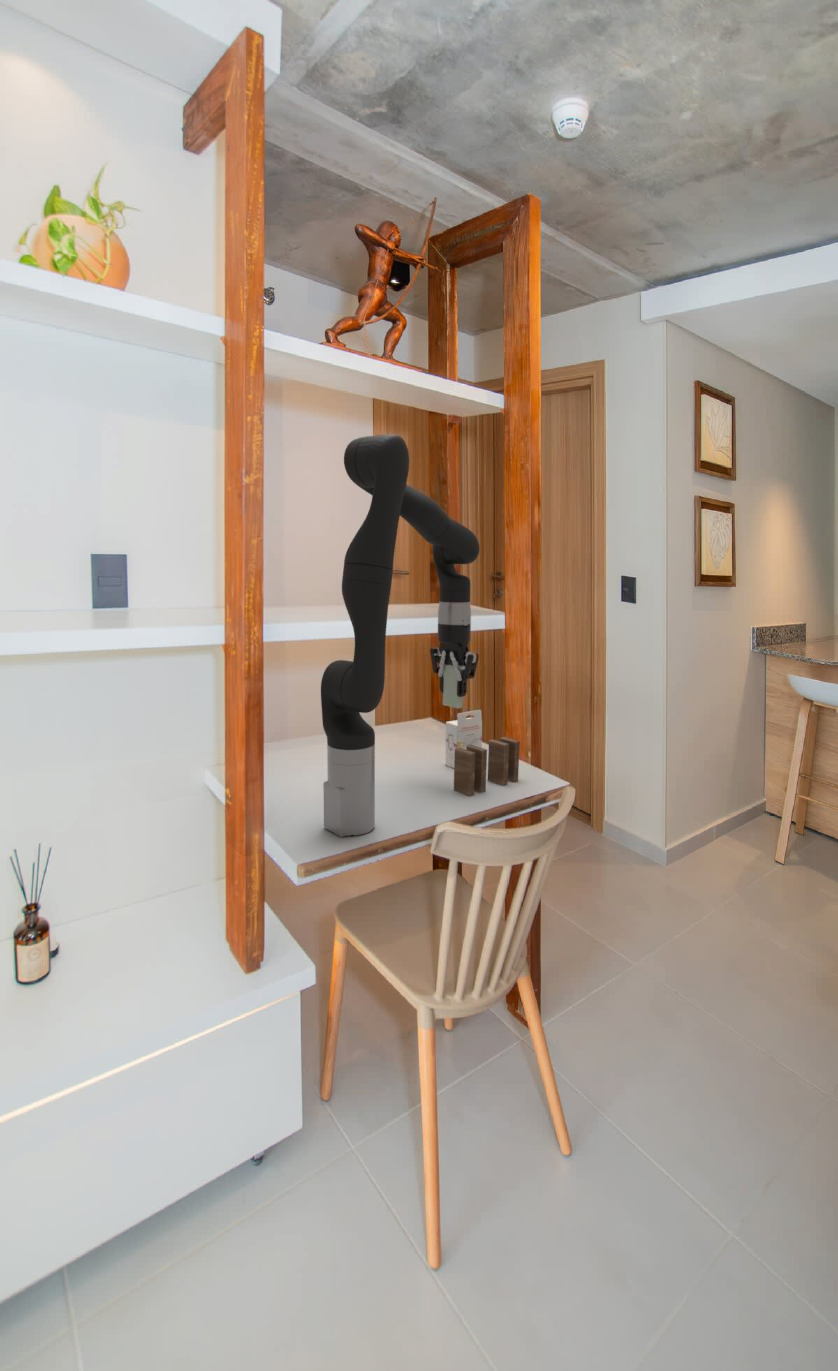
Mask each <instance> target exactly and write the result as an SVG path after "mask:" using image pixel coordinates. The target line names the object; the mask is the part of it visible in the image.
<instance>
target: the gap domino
mask: <svg viewBox="0 0 838 1371" xmlns="http://www.w3.org/2000/svg"><path fill="white" fill-rule="evenodd" d="M463 666H464V665H459V667H463ZM461 672H462V675H463V670H461ZM457 681H459V680H458V678H457V674H456V672H455V671H454V667H453V666H452V665H446V664H445V670H444V673H443V693H442V705H443V706H447V707H449V708H454V709H462V708H463V706H464V704H463V702H464V696H463V697H458V696H457Z"/></svg>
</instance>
